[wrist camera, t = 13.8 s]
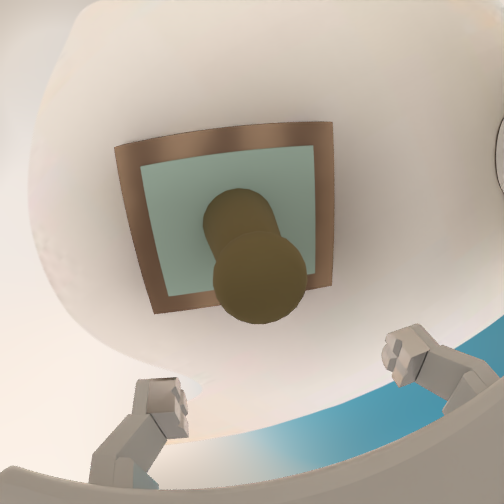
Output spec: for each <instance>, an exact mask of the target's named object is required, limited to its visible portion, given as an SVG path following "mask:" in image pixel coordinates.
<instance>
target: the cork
mask: <svg viewBox="0 0 504 504" xmlns="http://www.w3.org/2000/svg"><path fill="white" fill-rule="evenodd" d="M203 230H204V234H205V237H206V240H207V242H208V244H209V246H210V249H211V251H212V253H213V256H214V258H215V260H216V263H215V265H214V270H213V287H214V291H215V294H216V298H217V299H218V301H219V303H220V304H221V305H222V307H223V308H224V309H225V311H226V312H227V313H229V314H230V315H232V316H233V317H235V318H236V319H238V320H240V321H244V322H247V323H251V324H267V323H271V322H274V321H277V320H279V319H281V318H283V317H285V316H287V315H288V314H289V313H290V312H291V311H293V310H294V309H295V308H296V307H297V305H298V304H299V302H300V300H301V299H302V297H303V295H304V293H305V289H306V285H307V281H308V280H307V270H306V264H305V262H304V260H303V258H302V256H301V254H300V252H299V250H298V249H297V248H296V247H295V246H294V245H293V244H292V243H291V242H290V241H288V240H287V239H286V238H284V237H281V234H280V231H279V228H278V225H277V222H276V219H275V216H274V213H273V210H272V208H271V207H270V205H269V203H268V201H267V200H266V199H265V198H264V197H263V196H262V195H260V194H259V193H257V192H255V191H252V190H250V189H243V188H235V189H231V190H226V191H224V192H223V193H221V194H219V195H218V196H216V197H215V198H214V199H213V200H212V201H211V202H210V204H209V205H208V206H207V209H206V211H205V213H204V216H203Z"/></svg>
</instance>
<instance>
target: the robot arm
mask: <svg viewBox="0 0 504 504" xmlns="http://www.w3.org/2000/svg"><path fill="white" fill-rule="evenodd" d="M496 167H497V175H498V180H499V184H500V186H501V189H502V191H503V192H504V120H503V122H502V124H501V127H500V130H499V134H498V140H497V148H496ZM385 341H386V343H387V344H386V345H385V347H384V348H383V350H382V354H381V355H382V361H383V364H384V366H385V368H386V369H387V370H389V371H391V372H392V378H393V380H394V381H395V382H396V384H397V386H398V387H402V386H405V385H407V384H410V383H412V382H415V381H416V383H417V384H419V385H421V386H422V387H424V388H426V389H428V390H429V391H431V392H433V393H434V394H436V395H438V396H440V397H442V398H443V399H445V400H447V401H448V402H447V403H446V405H445V406H444V408H443V411H442V412H443V414H444V415H445V416H443V417H441V418H440V419H438V420H436V421H434V422H432V423H431V424H429V425H427V426H425V427H423V428H421V429H419V430H417V431H415V432H413V433H411V434H409V435H407V436H405V437H403V438H401V439H398V440H396V441H394V442H392V443H389V444H387V445H384V446H382V447H380V448H377V449H375V450H372V451H370V452H367V453H364V454H362V455H359V456H356V457H353V458H351V459H348V460H345V461H342V462H339V463H336V464H332V465H329V466H326V467H322V468H319V469H315V470H312V471H308V472H304V473H300V474H296V475H292V476H287V477H283V478H278V479H273V480H268V481H262V482H256V483H250V484H243V485H236V486H226V487H216V488H204V489H185V490H184V489H183V490H159V485H158V483H156V482H155V481H154V480H153V479H152V478H151V477H150V476H149V475H148V474H147V472H148V470H149V469H150V467H151V465H152V464H153V462H154V461H155V459H156V457H157V456H158V454H159V452H160V451H161V449H162V448H163V446H164V445H165V443H166V441H167V439H176V438H187V437H189V431H188V421H187V419H186V415H187V414H188V406H187V399H186V396H185V393H184V391H183V390H182V389H180V381H179V379H178V378H177V377H173V378H156V379H139V380H138V381H137V383H136V388H135V395H134V401H133V409H132V414H129V415H127V417H126V418H125V419H124V420H123V421H122V422H121V423H120V424H119V425H118V426H117V428H116V429H115V430H114V431H113V432H112V433H111V434H110V435H109V436H108V438H107V439H106V440H105V441H104V442H103V443H102V444H101V445H100V446H99V448H98V449H97V450H96V451H95V452H94V453H93V455H92V462H91V469H90V475H89V483H82V482H77V481H71V480H66V479H61V478H57V477H53V476H49V475H45V474H41V473H37V472H33V471H30V470H27V469H24V468H21V467H17V466H10V467H8V468H6V469H5V470H3V471H2V472H1V473H0V504H504V376H503V377H502V378H499V377H498V375H497V374H496V373H495V372H494V371H493V370H492V369H491V368H490V366H489V365H488V364H487V363H486V362H485V361H484V360H481V359H478V358H475V357H473V356H470V355H468V354H465V353H462V352H460V351H457V350H454V349H452V348H449V347H447V346H444V345H441V346H440V345H439V344H438V343H437V342H436V341H435V340H434V339H433V338H432V336H431V335H430V334H429V333H428V332H427V331H426V330H425V329H424V328H423V327H422V326H421V325H420V324H418V323H417V324H414V325H411V326H408V327H405V328H402V329H399V330H396V331H394V332H391V333H388V334H387V336H386V339H385Z"/></svg>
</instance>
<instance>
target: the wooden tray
mask: <svg viewBox="0 0 504 504" xmlns="http://www.w3.org/2000/svg"><path fill="white" fill-rule="evenodd" d="M114 150H115V156H116V162H117V168H118V174H119V179H120V185H121V190H122V195H123V200H124V204H125V209H126V213H127V218H128V222H129V227H130V231H131V235H132V239H133V243H134V247H135V251H136V254H137V258H138V262H139V266H140V269H141V273H142V276H143V280H144V283H145V286H146V290H147V293H148V296H149V299H150V303H151V306H152V309H153V312H154V314H160V313H168V312H176V311H183V310H190V309H197V308H204V307H211V306H218V305H221V304H220V303H219V301H218V299H217V298H216V294H215V291H214V287H213V270H214V265H215V263H216V260H215V258H214V256H213V253H212V251H211V249H210V246H209V244H208V242H207V240H206V237H205V234H204V230H203V216H204V213H205V211H206V209H207V206H208V205H209V204H210V202H211V201H212V200H213V199H214V198H215V197H216V196H218V195H219V194H221V193H223V192H224V191H226V190H231V189H235V188H243V189H250V190H252V191H255V192H257V193H259V194H260V195H262V196H263V197H264V198H265V199H266V200H267V201H268V203H269V205H270V207H271V208H272V210H273V213H274V216H275V219H276V222H277V225H278V228H279V231H280V234H281V237H284V238H286V239H287V240H288V241H290V242H291V243H292V244H293V245H294V246H295V247H296V248H297V249H298V250H299V252H300V254H301V256H302V258H303V260H304V262H305V264H306V270H307V280H308V281H307V285H306V289H305V291H306V290H311V289H316V288H321V287H326V286H331V285H332V270H333V248H334V145H333V123H332V122H287V123H269V124H255V125H243V126H233V127H224V128H216V129H208V130H200V131H193V132H187V133H181V134H174V135H169V136H163V137H158V138H152V139H147V140H142V141H138V142H133V143H128V144H124V145H120V146H117V147H114Z"/></svg>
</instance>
